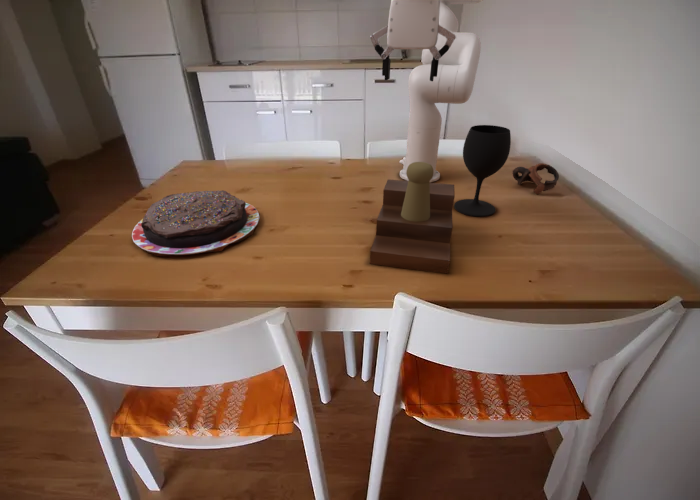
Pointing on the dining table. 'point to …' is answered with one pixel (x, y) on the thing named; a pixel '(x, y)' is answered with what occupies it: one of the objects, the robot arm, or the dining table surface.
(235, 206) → the chocolate cake
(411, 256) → the spice rack
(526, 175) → the brown twisted piece
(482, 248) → the dining table surface
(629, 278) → the dining table surface
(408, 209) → the olive peg figure
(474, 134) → the wine glass
